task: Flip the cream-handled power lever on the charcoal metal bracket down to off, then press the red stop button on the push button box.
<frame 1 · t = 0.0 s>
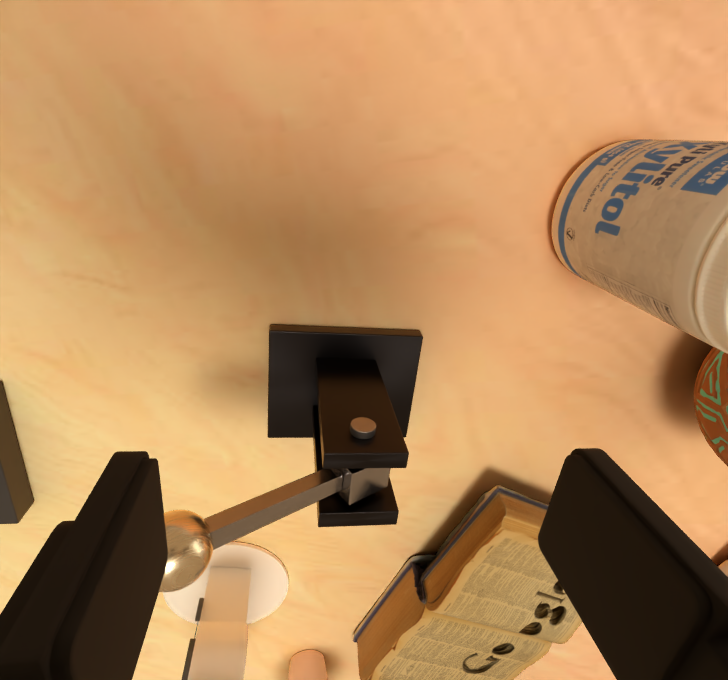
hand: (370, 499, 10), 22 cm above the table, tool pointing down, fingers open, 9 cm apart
panda figurine: (228, 581, 41), on the table
supplement tub: (606, 213, 31), on the table
book: (475, 574, 46), on the table
switch bracket: (341, 380, 34), on the table
smoothie: (307, 658, 48), on the table
lever: (276, 504, 22), point 13 cm above the table, hinge at 30.0°
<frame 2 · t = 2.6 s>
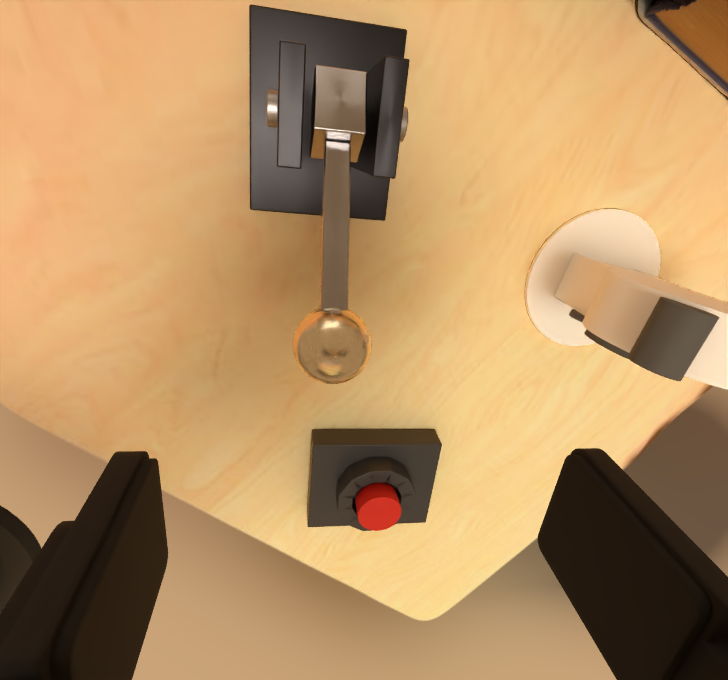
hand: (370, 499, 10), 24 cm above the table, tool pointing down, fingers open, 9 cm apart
panda figurine: (586, 279, 36), on the table
push button box: (369, 469, 40), on the table
stop button: (378, 506, 36), point 4 cm above the table, slide at 0.1 cm
switch bracket: (323, 124, 28), on the table
lever: (335, 229, 19), point 13 cm above the table, hinge at 30.0°
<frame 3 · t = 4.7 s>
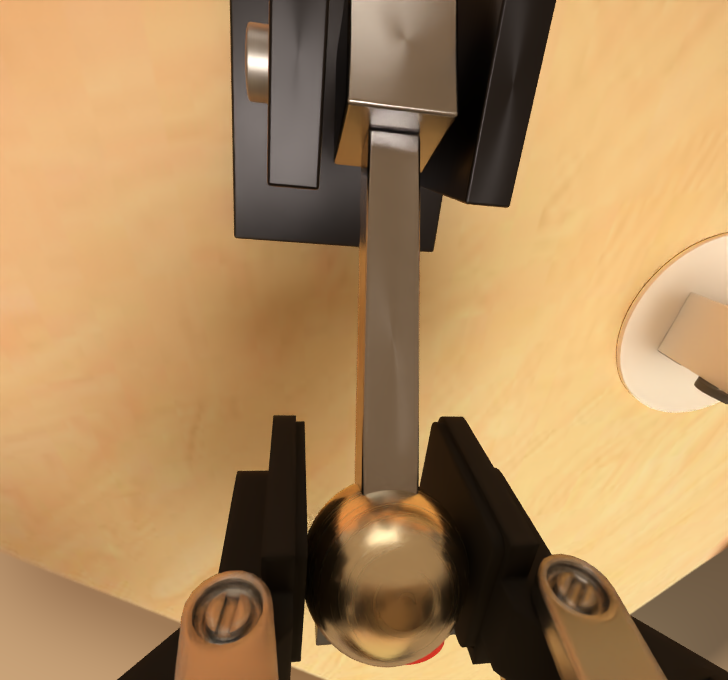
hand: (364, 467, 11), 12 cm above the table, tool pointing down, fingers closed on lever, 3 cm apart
panda figurine: (700, 325, 26), on the table
stop button: (411, 631, 27), point 4 cm above the table, slide at 0.1 cm
switch bracket: (345, 110, 19), on the table
lever: (387, 314, 9), point 13 cm above the table, hinge at 30.0°, touching gripper
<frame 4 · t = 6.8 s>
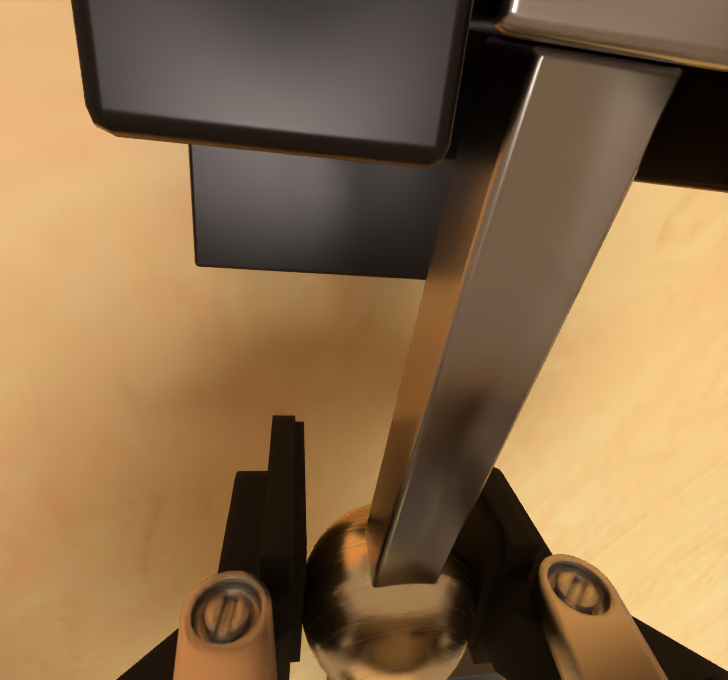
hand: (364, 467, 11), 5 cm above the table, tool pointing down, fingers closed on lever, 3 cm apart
switch bracket: (375, 57, 11), on the table
lever: (450, 411, 5), point 9 cm above the table, hinge at -13.2°, touching gripper
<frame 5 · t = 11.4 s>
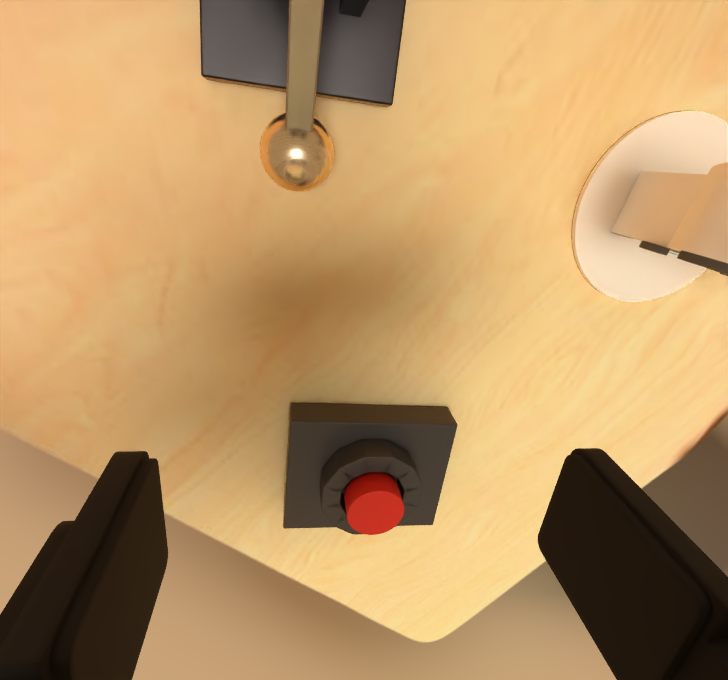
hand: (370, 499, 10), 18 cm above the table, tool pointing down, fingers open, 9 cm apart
panda figurine: (651, 211, 27), on the table
push button box: (363, 457, 32), on the table
stop button: (373, 503, 28), point 4 cm above the table, slide at 0.1 cm
lever: (305, 29, 15), point 7 cm above the table, hinge at -35.5°
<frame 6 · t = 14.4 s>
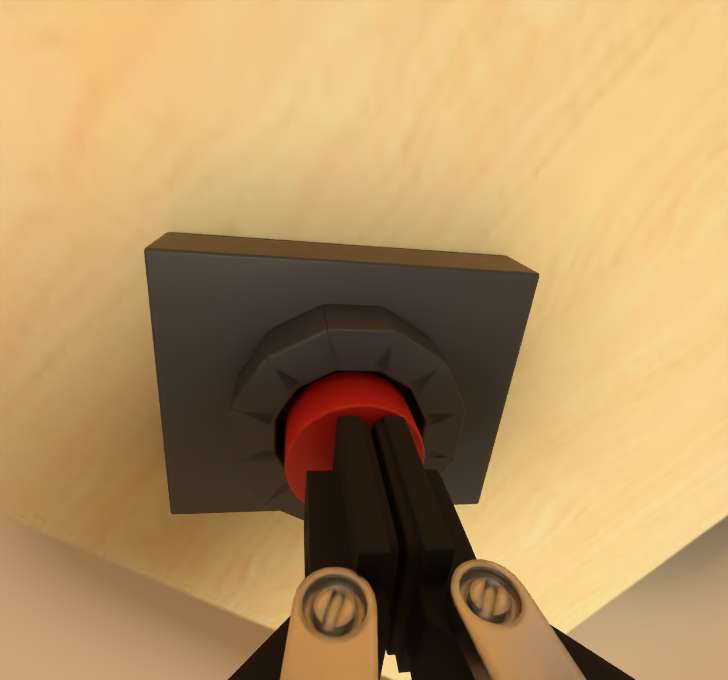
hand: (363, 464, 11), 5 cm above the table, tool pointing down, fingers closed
push button box: (337, 369, 16), on the table
stop button: (352, 443, 12), point 4 cm above the table, slide at -0.1 cm, touching gripper
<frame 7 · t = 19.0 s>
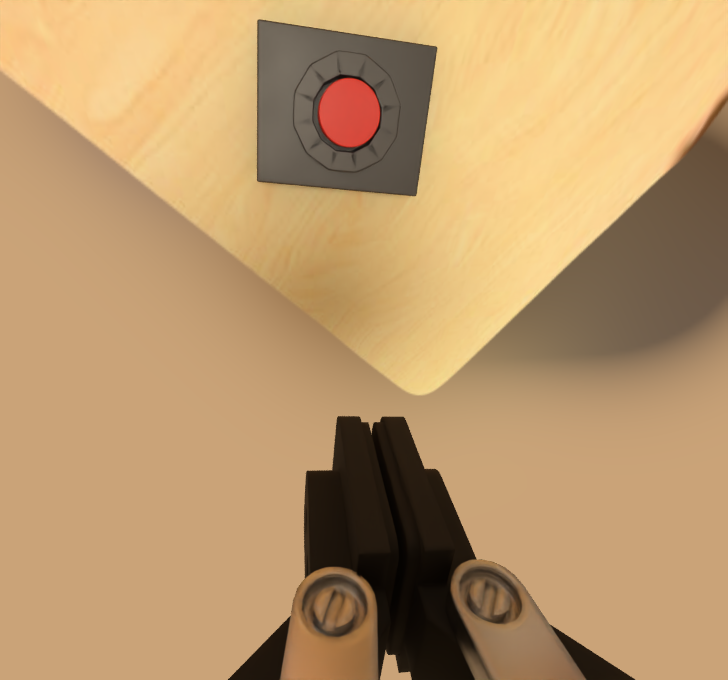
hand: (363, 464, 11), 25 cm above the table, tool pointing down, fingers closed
push button box: (341, 117, 30), on the table
stop button: (348, 114, 26), point 4 cm above the table, slide at 0.1 cm
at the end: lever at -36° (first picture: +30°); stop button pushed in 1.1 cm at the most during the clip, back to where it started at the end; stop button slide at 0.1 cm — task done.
